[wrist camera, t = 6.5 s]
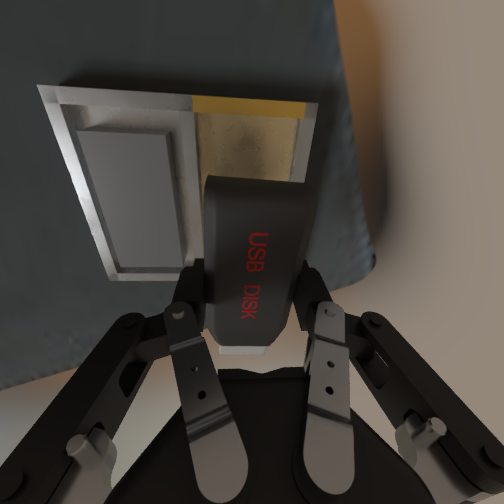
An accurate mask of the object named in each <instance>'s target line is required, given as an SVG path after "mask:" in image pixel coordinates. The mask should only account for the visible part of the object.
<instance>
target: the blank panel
mask: <svg viewBox="0 0 504 504" xmlns="http://www.w3.org/2000/svg"><path fill="white" fill-rule="evenodd" d="M77 134H78V137H79V141H80V144H81V147H82V150H83V153H84V156H85V159H86V162H87V165H88V168H89V171H90V174H91V178H92V181H93V184H94V187H95V190H96V193H97V196H98V199H99V202H100V205H101V208H102V211H103V214H104V218H105V221H106V224H107V227H108V230H109V233H110V236H111V239H112V242H113V245H114V248H115V251H116V255H117V258H118V261H119V264H120V267H183V266H184V262H185V258H186V249H185V241H184V233H183V224H182V216H181V208H180V200H179V191H178V183H177V175H176V167H175V159H174V150H173V142H172V134H171V131H161V130H142V129H123V128H104V127H88V128H84V129H81V130H77Z"/></svg>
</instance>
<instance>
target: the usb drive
mask: <svg viewBox="0 0 504 504" xmlns="http://www.w3.org/2000/svg"><path fill="white" fill-rule="evenodd" d="M316 210H317V196H316V193H315V191H314V189H313V188H312V186H311V185H310V184H309V183H302V182H290V181H277V180H264V179H252V178H239V177H227V176H215V175H207V178H206V182H205V186H204V196H203V221H204V272H205V288H206V310H205V322H206V326H207V328H208V330H209V331H210V333H211V335H212V336H213V338H214V340H215V341H216V342H217V343H218V344H219V345H220V350H219V353H220V354H243V355H247V354H249V355H259V354H260V355H261V354H265V351H266V347H267V346H269V345H271V344H272V343H273V342H274V341H275V339H276V338H277V337H278V336H279V334H280V333H281V332H282V330H283V329H284V328H285V326H286V323H287V320H288V316H289V312H290V308H291V305H292V301H293V297H294V294H295V290H296V286H297V283H298V279H299V275H300V271H301V268H302V264H303V260H304V257H305V253H306V249H307V246H308V242H309V238H310V234H311V231H312V227H313V223H314V219H315V215H316Z"/></svg>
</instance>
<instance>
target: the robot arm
mask: <svg viewBox="0 0 504 504" xmlns="http://www.w3.org/2000/svg"><path fill="white" fill-rule="evenodd" d="M293 303H294V306H295V309H296V313H297V317H298V320H299V324H300V328H301V331H308V334H309V336H308V340H307V346H306V353H305V359H304V366H303V367H284V368H280V369H277V370H273V371H270V372H267V373H262V374H261V373H256V372H252V371H248V370H243V369H218V376H217V373H216V370H215V368H214V364H213V361H212V358H211V355H210V353H209V350H208V347H207V344H206V342H205V339H204V337H202V336H201V333H200V332H203V326H204V318H205V310H206V288H205V272H204V258H195V260H194V264H193V266H186V267H185V268H184V269H183V270H182V271H181V272H180V276H179V279H178V283H177V286H176V289H175V293H174V296H173V300H172V303H171V304H170V305H169V306H167V307H166V308H165V310H164V312H163V313H161V314H159V315H155V316H152V317H148V318H145V317H144V316H143V315H142V314H140V313H128V314H125V315H123V316H121V317H120V318H119V319H117V320H116V321H115V323H114V324H113V325H112V326H111V328H110V329H109V330H108V332H107V333H106V334H105V335H104V337H103V338H102V339H101V340H100V342H99V343H98V344H97V345H96V347H95V348H94V349H93V350H92V352H91V353H90V354H89V356H88V357H87V358H86V359H85V361H84V362H83V363H82V364H81V366H80V367H79V368H78V369H77V371H76V372H75V373H74V375H73V376H72V377H71V378H70V380H69V381H68V382H67V383H66V385H65V386H64V387H63V389H62V390H61V391H60V392H59V394H58V395H57V396H56V397H55V399H54V400H53V401H52V402H51V404H50V405H49V406H48V407H47V409H46V410H45V411H44V413H43V414H42V415H41V416H40V418H39V419H38V420H37V421H36V423H35V424H34V425H33V426H32V428H31V429H30V430H29V431H28V433H27V434H26V435H25V437H24V438H23V439H22V440H21V442H20V443H19V444H18V445H17V447H16V448H15V449H14V450H13V452H12V453H11V454H10V455H9V457H8V458H7V459H6V460H5V462H4V463H3V464H2V465H1V467H0V504H474V503H476V502H479V501H481V500H484V499H486V498H488V497H491V496H494V495H496V494H498V493H501V492H503V491H504V446H503V445H502V444H501V442H500V441H499V440H498V439H497V438H496V437H495V436H494V435H493V434H492V433H491V432H490V431H489V430H488V428H487V427H486V426H485V425H484V424H483V423H482V422H481V421H480V420H479V419H478V418H477V416H476V415H474V413H473V412H472V411H471V410H470V409H469V408H468V407H467V406H466V405H465V404H464V403H463V401H462V400H461V399H460V398H459V397H458V396H457V395H456V394H455V393H454V392H453V391H452V389H451V388H450V387H449V386H448V385H447V384H446V383H445V382H444V381H443V380H442V379H441V378H440V377H439V375H438V374H437V373H436V372H435V371H434V370H433V369H432V368H431V367H430V366H429V365H428V364H427V362H426V361H425V360H424V359H423V358H422V357H421V356H420V355H419V354H418V353H417V352H416V351H415V349H414V348H413V347H412V346H411V345H410V344H409V343H408V342H407V341H406V340H405V339H404V338H403V337H402V335H401V334H400V333H399V332H398V331H397V330H396V329H395V328H394V327H393V326H392V325H391V324H390V322H389V321H388V320H387V319H386V318H385V317H383V316H382V315H380V314H378V313H375V312H365V313H363V314H362V316H361V317H358V316H354V315H350V314H347V313H345V312H344V310H343V309H342V308H341V307H340V306H339V305H338V304H336V303H334V302H333V301H332V299H331V296H330V294H329V292H328V290H327V288H326V285H325V283H324V281H323V280H322V277H321V275H320V273H319V272H318V271H317V270H316V269H315V268H309V266H308V263H307V261H306V260H303V264H302V268H301V271H300V275H299V279H298V283H297V286H296V290H295V294H294V297H293ZM377 353H378V354H379V355H380V356H379V355H378V354H377ZM168 355H171V357H172V362H173V366H174V371H175V376H176V381H177V386H178V391H179V396H180V401H181V406H180V408H179V409H178V410H177V411H176V413H175V414H174V415H173V416H172V417H171V419H170V420H169V421H168V422H167V423H166V425H165V426H164V427H163V428H162V430H161V431H160V432H159V433H158V434H157V436H156V437H155V438H154V439H153V441H152V442H151V443H150V444H149V445H148V447H147V448H146V449H145V450H144V452H143V453H142V454H141V455H140V456H139V458H138V459H137V460H136V461H135V463H134V464H133V465H132V466H131V467H130V469H129V470H128V471H127V472H126V473H125V475H124V476H123V477H122V478H121V480H120V481H119V482H118V483H117V484H116V486H115V487H114V488H113V489H112V487H111V474H112V470H113V468H114V465H115V462H116V457H117V450H116V447H115V445H114V443H113V442H112V439H113V437H114V435H115V433H116V432H117V430H118V428H119V426H120V424H121V422H122V420H123V418H124V417H125V415H126V413H127V411H128V409H129V407H130V405H131V403H132V401H133V400H134V398H135V396H136V394H137V392H138V390H139V388H140V386H141V384H142V383H143V380H144V379H145V377H146V375H147V373H148V371H149V369H150V367H151V365H152V364H153V362H154V360H156V359H159V358H162V357H165V356H168ZM380 357H381V358H382V359H383V360H382V359H381V358H380ZM349 359H350V361H351V362H352V364H353V365H354V367H355V368H356V370H357V371H358V373H359V374H360V376H361V378H362V379H363V381H364V382H365V384H366V385H367V387H368V388H369V390H370V391H371V393H372V394H373V396H374V397H375V399H376V400H377V402H378V404H379V405H380V407H381V408H382V410H383V411H384V413H385V414H386V416H387V417H388V419H389V420H390V422H391V423H392V425H393V426H394V428H395V429H396V432H395V439H396V442H397V445H398V451H399V453H400V455H401V456H402V457H401V456H400V455H398V454H397V453H396V451H394V450H393V449H392V448H391V447H390V446H389V445H388V444H387V443H386V442H385V441H384V440H383V439H382V438H381V437H380V436H379V435H378V434H377V433H376V432H375V431H374V430H373V429H372V428H371V427H370V426H369V425H368V424H367V423H366V422H365V421H364V420H363V419H361V417H360V416H358V415H357V414H356V412H354V411H353V410H352V409H351V408H350V386H349V385H350V383H349ZM384 362H385V363H386V364H387V365H386V364H385V363H384ZM387 366H388V367H387Z"/></svg>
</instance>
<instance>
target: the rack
mask: <svg viewBox="0 0 504 504" xmlns="http://www.w3.org/2000/svg"><path fill="white" fill-rule="evenodd" d="M37 87H38V90H39V92H40V95H41V98H42V100H43V103H44V106H45V108H46V111H47V114H48V116H49V119H50V122H51V124H52V127H53V130H54V132H55V135H56V138H57V141H58V143H59V146H60V149H61V151H62V154H63V157H64V159H65V162H66V165H67V167H68V170H69V173H70V175H71V178H72V181H73V183H74V186H75V189H76V192H77V194H78V197H79V200H80V202H81V205H82V208H83V210H84V213H85V216H86V218H87V221H88V224H89V226H90V229H91V232H92V234H93V237H94V240H95V242H96V245H97V248H98V251H99V253H100V256H101V259H102V261H103V264H104V267H105V269H106V272H107V275H108V277H109V280H110V281H178V279H179V276H180V272H181V271H182V270H183V269H184V268H185V267H186V266H193V264H194V260H195V258H204V221H203V196H204V186H205V182H206V178H207V175H215V176H227V177H239V178H252V179H264V180H277V181H290V182H302V183H304V181H305V175H306V170H307V164H308V159H309V154H310V148H311V143H312V137H313V132H314V126H315V121H316V115H317V110H318V105H319V103H314V102H304V101H289V100H274V99H259V98H244V97H229V96H214V95H199V94H184V93H169V92H154V91H139V90H124V89H109V88H94V87H79V86H64V85H37ZM88 127H104V128H123V129H142V130H161V131H171V134H172V142H173V150H174V159H175V167H176V175H177V183H178V191H179V200H180V208H181V216H182V224H183V233H184V241H185V249H186V258H185V262H184V266H183V267H120V264H119V261H118V258H117V255H116V251H115V248H114V245H113V242H112V239H111V236H110V233H109V230H108V227H107V224H106V221H105V218H104V214H103V211H102V208H101V205H100V202H99V199H98V196H97V193H96V190H95V187H94V184H93V181H92V178H91V174H90V171H89V168H88V165H87V162H86V159H85V156H84V153H83V150H82V147H81V144H80V141H79V137H78V134H77V130H81V129H84V128H88Z"/></svg>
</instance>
